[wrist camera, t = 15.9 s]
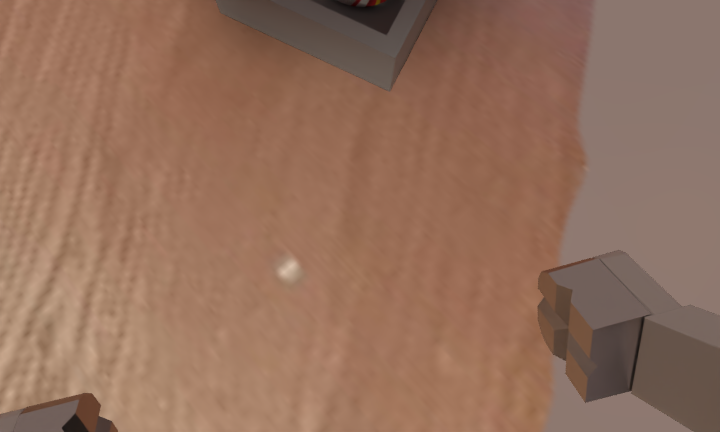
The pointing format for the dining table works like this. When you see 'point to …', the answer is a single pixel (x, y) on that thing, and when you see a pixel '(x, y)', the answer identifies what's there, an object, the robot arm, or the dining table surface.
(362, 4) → the soda can
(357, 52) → the box
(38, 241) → the dining table surface
